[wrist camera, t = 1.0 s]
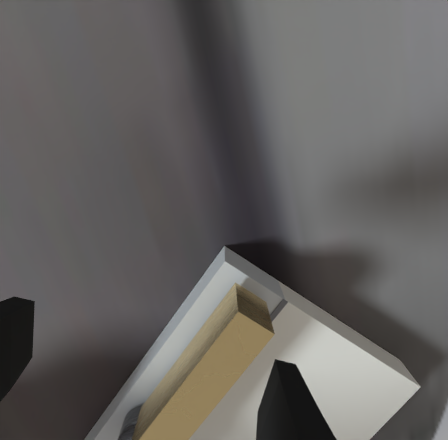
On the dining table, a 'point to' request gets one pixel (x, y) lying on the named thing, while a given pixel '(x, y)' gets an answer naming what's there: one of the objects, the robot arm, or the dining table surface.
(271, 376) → the robot arm
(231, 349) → the bar
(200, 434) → the white panel
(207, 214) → the dining table surface
